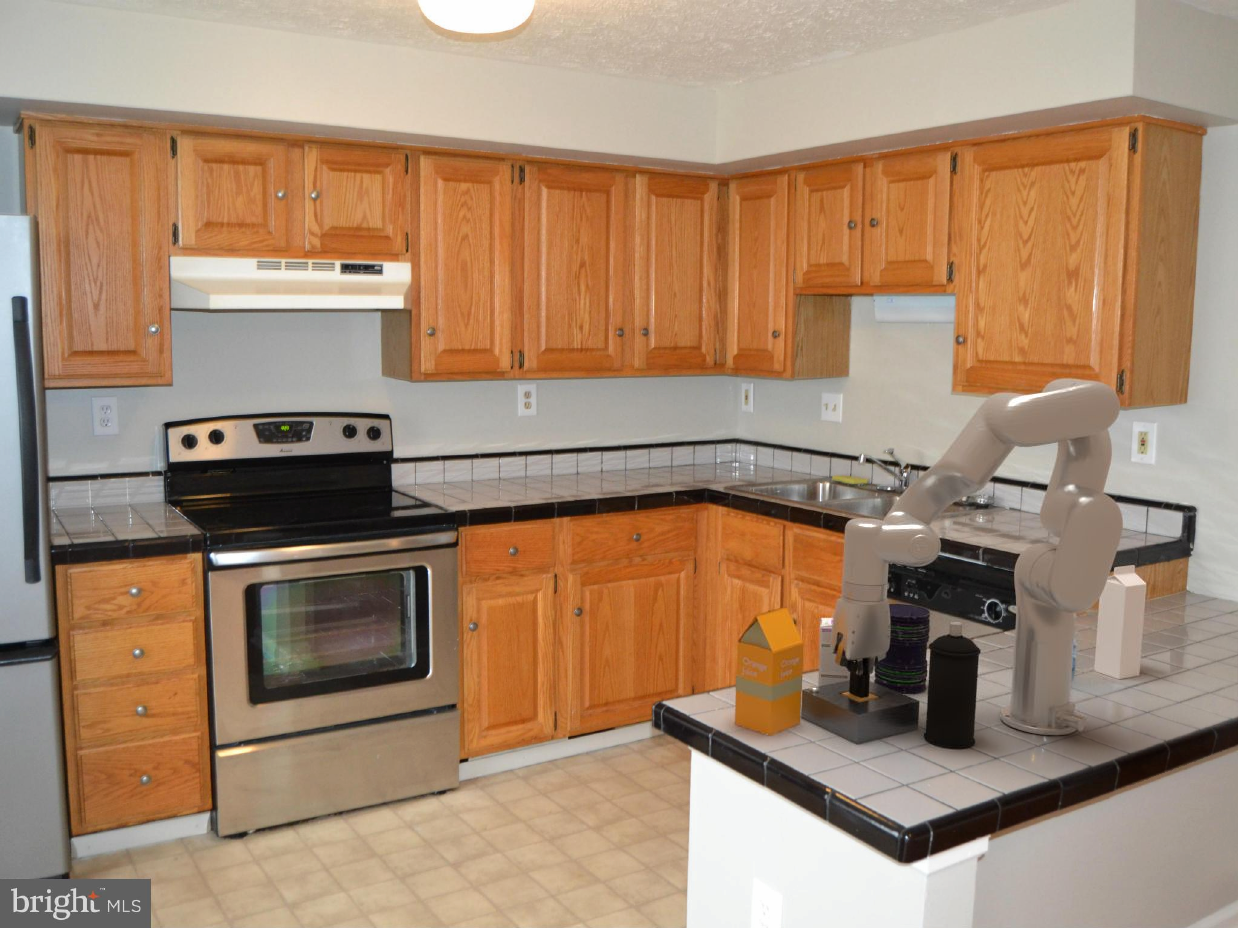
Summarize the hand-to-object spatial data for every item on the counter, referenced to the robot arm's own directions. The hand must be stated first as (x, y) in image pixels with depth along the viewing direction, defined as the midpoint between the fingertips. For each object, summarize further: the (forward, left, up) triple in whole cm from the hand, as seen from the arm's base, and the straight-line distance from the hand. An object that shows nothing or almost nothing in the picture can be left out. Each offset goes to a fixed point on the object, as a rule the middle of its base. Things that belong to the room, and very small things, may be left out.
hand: (858, 695), depth 187 cm
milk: (-4, -66, -5) cm, 67 cm away
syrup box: (+12, -5, -5) cm, 14 cm away
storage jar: (+11, -21, -5) cm, 24 cm away
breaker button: (0, 0, -3) cm, 3 cm away
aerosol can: (-13, -8, -5) cm, 16 cm away
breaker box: (0, 0, -5) cm, 5 cm away
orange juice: (+7, +14, -5) cm, 17 cm away
